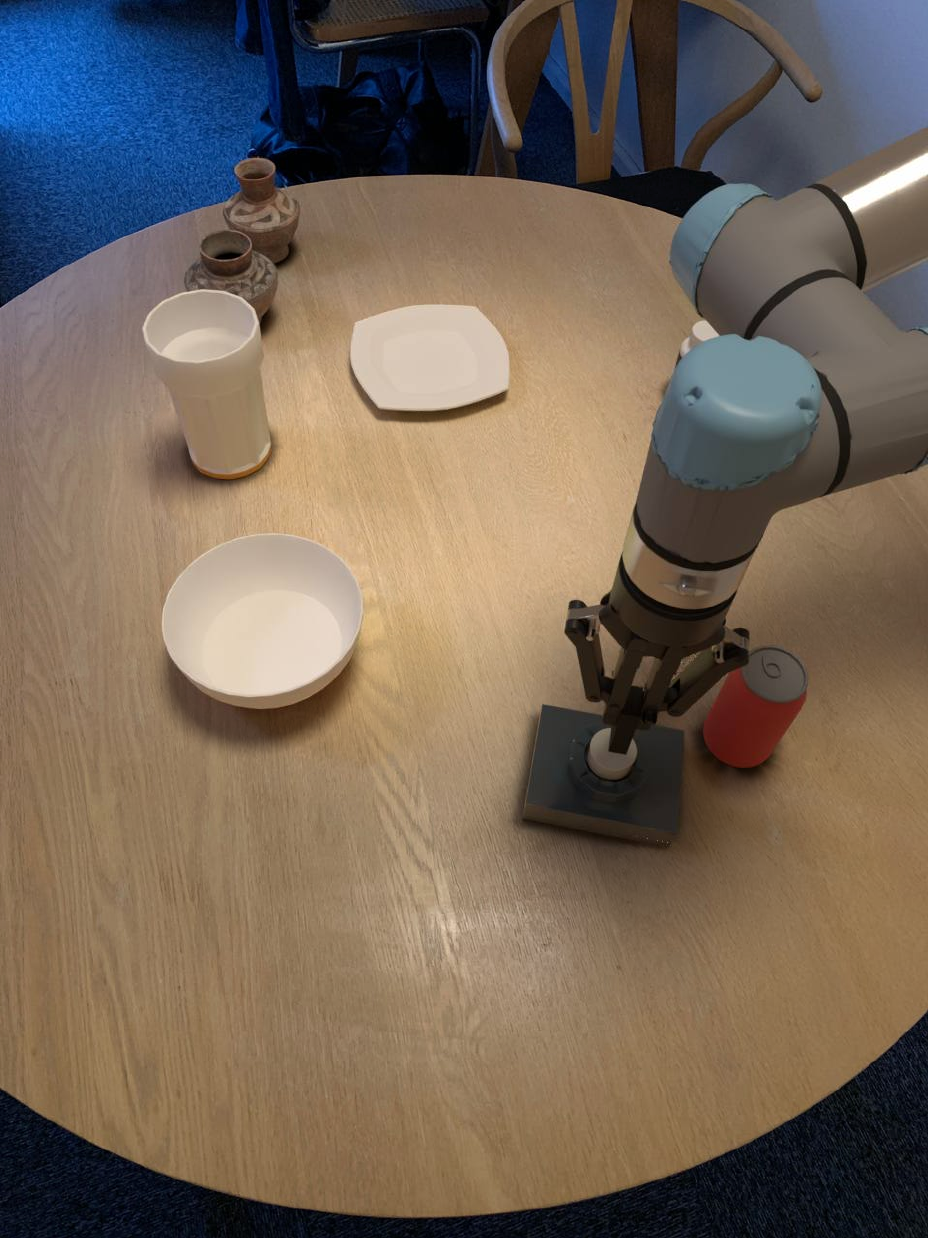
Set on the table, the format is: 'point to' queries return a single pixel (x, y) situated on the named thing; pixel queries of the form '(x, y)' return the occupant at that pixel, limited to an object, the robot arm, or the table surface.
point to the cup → (213, 378)
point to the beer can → (756, 706)
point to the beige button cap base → (604, 780)
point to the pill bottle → (696, 338)
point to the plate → (429, 358)
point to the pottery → (248, 239)
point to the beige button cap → (609, 757)
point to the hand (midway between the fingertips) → (618, 738)
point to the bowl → (263, 620)
